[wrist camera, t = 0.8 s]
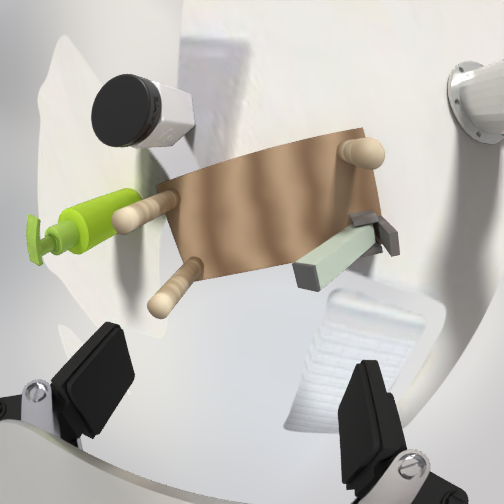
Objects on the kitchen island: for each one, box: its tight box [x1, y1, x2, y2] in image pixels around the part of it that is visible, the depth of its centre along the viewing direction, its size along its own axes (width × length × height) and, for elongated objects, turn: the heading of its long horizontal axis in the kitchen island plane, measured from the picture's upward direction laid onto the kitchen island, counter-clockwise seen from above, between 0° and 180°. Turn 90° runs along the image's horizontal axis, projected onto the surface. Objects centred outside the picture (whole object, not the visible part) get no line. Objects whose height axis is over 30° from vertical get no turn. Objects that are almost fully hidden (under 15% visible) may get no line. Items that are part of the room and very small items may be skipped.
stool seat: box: [112, 127, 400, 319], centre depth 30 cm, size 28×15×14 cm, turn 107°
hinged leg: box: [292, 223, 376, 292], centre depth 29 cm, size 12×3×3 cm
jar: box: [91, 74, 195, 149], centre depth 29 cm, size 9×8×12 cm
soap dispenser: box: [26, 188, 142, 266], centre depth 31 cm, size 6×7×20 cm
